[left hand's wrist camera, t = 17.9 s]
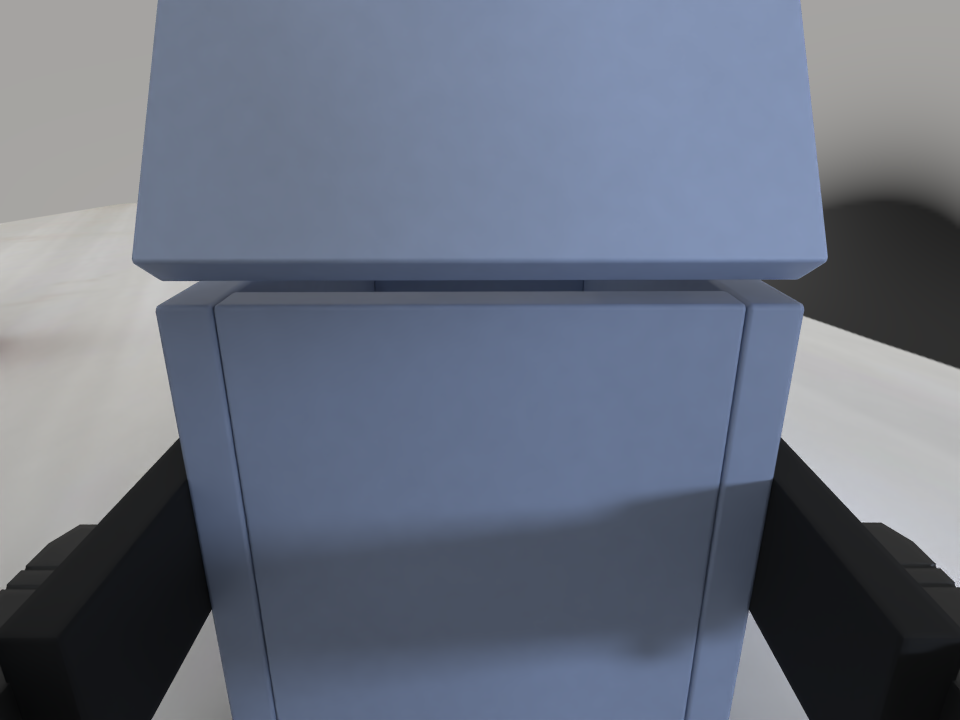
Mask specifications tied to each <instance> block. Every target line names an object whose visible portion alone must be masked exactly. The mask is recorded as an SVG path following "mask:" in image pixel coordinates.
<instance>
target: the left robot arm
mask: <svg viewBox="0 0 960 720" xmlns="http://www.w3.org/2000/svg"><path fill="white" fill-rule="evenodd" d="M211 610H212V608H211V602H210V597H209V592H208V586H207V581H206V576H205V571H204V565H203V560H202V555H201V549H200V544H199V539H198V533H197V528H196V523H195V517H194V512H193V507H192V501H191V496H190V491H189V486H188V480H187V475H186V470H185V464H184V459H183V454H182V448H181V443H180V438H179V439H178V440H177V441H176V442H175V443H174V444H173V445H172V446H171V447H170V448H169V449H168V450H167V451H166V453H165V454H164V455H163V456H162V457H161V458H160V459H159V460H158V461H157V462H156V463H155V464H154V465H153V466H152V467H151V468H150V469H149V471H148V472H147V473H146V474H145V475H144V476H143V477H142V478H141V479H140V480H139V481H138V482H137V483H136V484H135V485H134V486H133V488H132V489H131V490H130V491H129V492H128V493H127V494H126V495H125V496H124V497H123V498H122V499H121V500H120V501H119V502H118V503H117V504H116V506H115V507H114V508H113V509H112V510H111V511H110V512H109V513H108V514H107V515H106V516H105V517H104V518H103V519H102V520H101V521H100V522H99V524H98V525H79V526H77V527H75V528H74V529H72V530H70V531H69V532H67V533H65V534H64V535H62V536H60V537H59V538H57V539H55V540H54V541H52V542H50V543H49V544H48V545H47V546H46V547H45V548H44V549H43V550H42V551H41V552H40V553H39V554H38V555H36V556H35V557H34V558H33V559H32V560H31V561H30V562H29V563H28V564H27V565H26V569H25V570H21V571H20V572H19V573H18V574H17V575H16V576H15V577H14V578H13V579H12V580H11V581H10V582H9V583H8V584H7V588H6V590H1V591H0V720H151V719H152V718H153V716H154V714H155V712H156V710H157V708H158V707H159V705H160V703H161V701H162V699H163V697H164V696H165V694H166V692H167V690H168V688H169V686H170V685H171V683H172V681H173V679H174V677H175V676H176V674H177V672H178V670H179V668H180V666H181V665H182V663H183V661H184V659H185V657H186V655H187V654H188V652H189V650H190V648H191V646H192V644H193V643H194V641H195V639H196V637H197V635H198V633H199V632H200V630H201V628H202V626H203V624H204V622H205V621H206V619H207V617H208V615H209V613H210V612H211ZM749 610H750V612H751V614H752V616H753V618H754V620H755V621H756V623H757V625H758V627H759V629H760V630H761V632H762V634H763V636H764V638H765V640H766V641H767V643H768V645H769V647H770V649H771V651H772V652H773V654H774V656H775V658H776V660H777V662H778V663H779V665H780V667H781V669H782V671H783V673H784V674H785V676H786V678H787V680H788V682H789V683H790V685H791V687H792V689H793V691H794V693H795V694H796V696H797V698H798V700H799V702H800V704H801V705H802V707H803V709H804V711H805V713H806V715H807V716H808V718H809V720H960V587H955V582H954V581H953V580H952V579H951V578H950V577H949V576H948V575H947V574H946V573H944V572H943V571H942V570H941V569H940V568H936V564H935V563H934V562H933V561H932V560H931V559H930V558H929V557H928V556H927V555H926V554H925V553H924V552H923V551H922V550H921V549H920V548H919V547H918V546H917V545H916V544H915V543H914V542H913V541H911V540H909V539H908V538H906V537H904V536H903V535H901V534H899V533H898V532H896V531H894V530H893V529H891V528H889V527H888V526H886V525H884V524H883V523H861V522H860V521H859V520H858V519H857V518H856V516H855V515H854V514H853V513H852V512H851V511H850V510H849V509H848V508H847V507H846V506H845V505H844V504H843V503H842V502H841V501H840V499H839V498H838V497H837V496H836V495H835V494H834V493H833V492H832V491H831V490H830V489H829V488H828V487H827V486H826V485H825V484H824V483H823V481H822V480H821V479H820V478H819V477H818V476H817V475H816V474H815V473H814V472H813V471H812V470H811V469H810V468H809V467H808V466H807V465H806V463H805V462H804V461H803V460H802V459H801V458H800V457H799V456H798V455H797V454H796V453H795V452H794V451H793V450H792V449H791V448H790V447H789V445H788V444H787V443H786V442H785V441H784V440H783V439H782V438H780V443H779V449H778V454H777V459H776V465H775V470H774V476H773V481H772V487H771V492H770V498H769V503H768V508H767V514H766V519H765V525H764V530H763V536H762V541H761V546H760V552H759V557H758V563H757V568H756V574H755V579H754V585H753V590H752V595H751V601H750V606H749Z"/></svg>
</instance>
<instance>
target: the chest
mask: <svg viewBox="0 0 960 720" xmlns="http://www.w3.org/2000/svg"><path fill="white" fill-rule="evenodd" d="M803 313H804V307H803V305H802V304H801V303H799V302H797V301H796V300H794V299H792V298H790V297H789V296H787V295H785V294H784V293H782V292H780V291H778V290H777V289H775V288H773V287H771V286H770V285H768V284H766V283H764V282H763V281H761V280H759V279H741V280H351V281H199V282H197V283H196V284H194V285H192V286H191V287H189V288H187V289H185V290H184V291H182V292H180V293H179V294H177V295H175V296H174V297H172V298H170V299H168V300H167V301H165V302H163V303H162V304H160V305H158V306H157V308H156V316H157V321H158V326H159V332H160V337H161V342H162V348H163V353H164V358H165V363H166V369H167V374H168V379H169V385H170V390H171V395H172V401H173V406H174V411H175V417H176V422H177V427H178V432H179V438H180V443H181V448H182V454H183V459H184V464H185V470H186V475H187V480H188V486H189V491H190V496H191V501H192V507H193V512H194V517H195V523H196V528H197V533H198V539H199V544H200V549H201V555H202V560H203V565H204V571H205V576H206V581H207V586H208V592H209V597H210V602H211V608H212V613H213V618H214V624H215V629H216V634H217V640H218V645H219V650H220V655H221V661H222V666H223V671H224V677H225V682H226V687H227V693H228V698H229V703H230V709H231V714H232V719H233V720H729V715H730V710H731V704H732V699H733V693H734V688H735V682H736V677H737V672H738V666H739V661H740V655H741V650H742V644H743V639H744V633H745V628H746V623H747V617H748V612H749V606H750V601H751V595H752V590H753V585H754V579H755V574H756V568H757V563H758V557H759V552H760V546H761V541H762V536H763V530H764V525H765V519H766V514H767V508H768V503H769V498H770V492H771V487H772V481H773V476H774V470H775V465H776V459H777V454H778V449H779V443H780V438H781V432H782V427H783V421H784V416H785V411H786V405H787V400H788V394H789V389H790V383H791V378H792V373H793V367H794V362H795V356H796V351H797V345H798V340H799V334H800V329H801V324H802V318H803Z"/></svg>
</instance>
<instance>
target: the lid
mask: <svg viewBox="0 0 960 720" xmlns="http://www.w3.org/2000/svg"><path fill="white" fill-rule="evenodd" d="M132 260H133V263H134V264H135V265H137V266H139V267H140V268H142V269H143V270H145V271H147V272H148V273H150V274H151V275H153V276H155V277H156V278H158V279H159V280H162V281H351V280H741V279H799V278H801V277H802V276H804V275H806V274H807V273H809V272H810V271H812V270H814V269H815V268H817V267H818V266H820V265H821V264H823V263H825V262H826V261H827V247H826V238H825V228H824V219H823V209H822V200H821V191H820V181H819V172H818V163H817V153H816V144H815V135H814V125H813V116H812V107H811V97H810V88H809V78H808V69H807V60H806V50H805V41H804V32H803V22H802V13H801V4H800V0H158V5H157V15H156V25H155V35H154V45H153V55H152V65H151V75H150V85H149V95H148V105H147V115H146V125H145V135H144V145H143V155H142V165H141V175H140V184H139V194H138V204H137V214H136V224H135V234H134V244H133V254H132Z"/></svg>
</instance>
